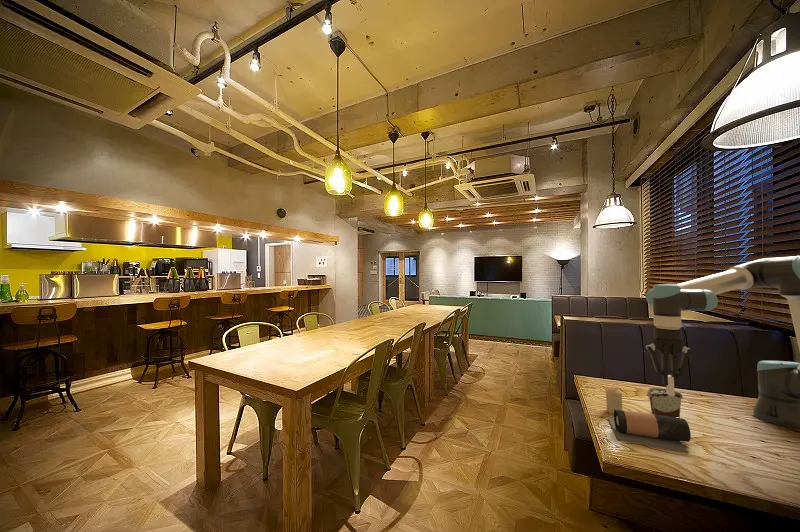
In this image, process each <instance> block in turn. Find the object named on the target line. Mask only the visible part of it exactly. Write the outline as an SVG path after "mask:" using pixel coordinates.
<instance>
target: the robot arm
mask: <svg viewBox="0 0 800 532" xmlns="http://www.w3.org/2000/svg"><path fill="white" fill-rule="evenodd" d="M755 288H757V289H758V288H767V289H768V288H770V289H778V293H779V296H782V297H783V298H785V299H787V303H788V307H789V308H788V309H789V310H790V316H791V321H792V324H793V327H794V329H793V330H794V332H795V339H796V341H797V345H798V350H799V352H800V255H795V256H794V255H793V256H781V257H780V256H778V257H765V258H759V259H756V260H753V261H747V262H745V263H741V264H738V265H735V266H731V267H729V268H728V269H727V270H725V271H723V272H718V273H715V274H714V273H713V274H711V275H707V276H704V277H700V278H695V279H693V280H689V281H684V282H681V283H677V284H674V283H673V284H671V283H670V284H667V283H666V284H664V283H662V284H661V283H660V284H654V285H653V287H652V288H650V289H649V290H647V291H646V292H645V300H646V303H648V304H649V305H650V306H652V309H653V314H652V315H653V326H655V327H654V328H653V337H654V339H653V341H652V343H650V344H649V345H648V344H646V345H645V349H646V350H647V351H648V353H649V356H650V359H651V361H652V365H653V367H654V370H655V372H656V373H657V374H658V375H661V377H662V378H661V380H662V384H663V385H664V386H666V387H665V389H666V393H667V394H668V395H669V396H675V395H674V391H675V387H677V386H678V383H679V382H678V378H680V377H684V376H685V374H686V370H687V366H688V363H689V358H690V356H691V355H692V354H693V352H694V350H693V349H691V348H689V347H687V346H685V343H684V342H683V330H682V327H683V325H682V311H683V312H684V311H685V312H686V311H687V312H688V311H690V312H691V311H692V312H693V311H697V312H698V311H701V312H705V311H706V312H707V311H712V310H714V309H715V308H716V307H717V306H718V303H719V301H718V297H717V295H718V294H722V293H727V292H730V291H734V290H747V289H755ZM656 349H657V350H658V351H659V352H660V353H659V355H660V362H661V363H659V360H658V357H657V354H656V352H655V350H656ZM680 351H682V354H681V357H680V360H679V364H678V354H679V353H680ZM668 358H669V359H668ZM668 361H669V362H670V374H669V363H668ZM660 365H661V366H660ZM756 375H757V388H758V398H757V400H756V401H755V404H754V406H753V408H752V409H753V411H752V413H753V416H755V417H756V418H758V419H759V420H762V421H764V422H767V423H771V424H774V425H777V426H782V427H786V428H792V429H796V430H797V429H798V430H800V362H795V361H789V360H788V361H784V360H759V361H758V362H757V369H756Z"/></svg>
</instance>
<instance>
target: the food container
mask: <svg viewBox="0 0 800 532" xmlns="http://www.w3.org/2000/svg"><path fill="white" fill-rule="evenodd" d="M646 395H647V397H648V399H649V403H650V410H651V414H656V415H663V416H669V417H679V418H681V406H682V405H681V404H682V399H684V398H683V395H682V393H681V392H680V391H676V390H674V395H675V396H669V395H668V394H667V393H666V388H662V387H661V388H660V387H651V388H648V390H647V392H646Z"/></svg>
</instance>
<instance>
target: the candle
mask: <svg viewBox="0 0 800 532" xmlns="http://www.w3.org/2000/svg"><path fill="white" fill-rule="evenodd" d="M605 398H606V401H605V402H606V411H607V412H608V413H611V414H613V415H614V410H623V392H622V391H621V390H620V388H619V387H610V386H609V387H608V388H607V389H606V390H605Z"/></svg>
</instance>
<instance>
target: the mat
mask: <svg viewBox="0 0 800 532" xmlns="http://www.w3.org/2000/svg"><path fill="white" fill-rule="evenodd" d="M607 418H608V421H609V423H610V427H611V428H612V431H613V433H614V436H615V438H616V440H617V441H619V442H625V443H629V444H635V443H636V445H640V444H641V446H646V445H647V446H646V447H651V446H652V448H656V447H658V448H657V449H662V448H664V450H667V449H669V451H673V452H678V453H679V452H680V453H684V454H689V451H688V449H687V448H686V446H684V444H683V443H682V441H677V440H669V439H661V438H653V437H647V436H641V435H635V434H629V433H622V432H618V431H617V430H616V427H615V423H614V417H607Z"/></svg>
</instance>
